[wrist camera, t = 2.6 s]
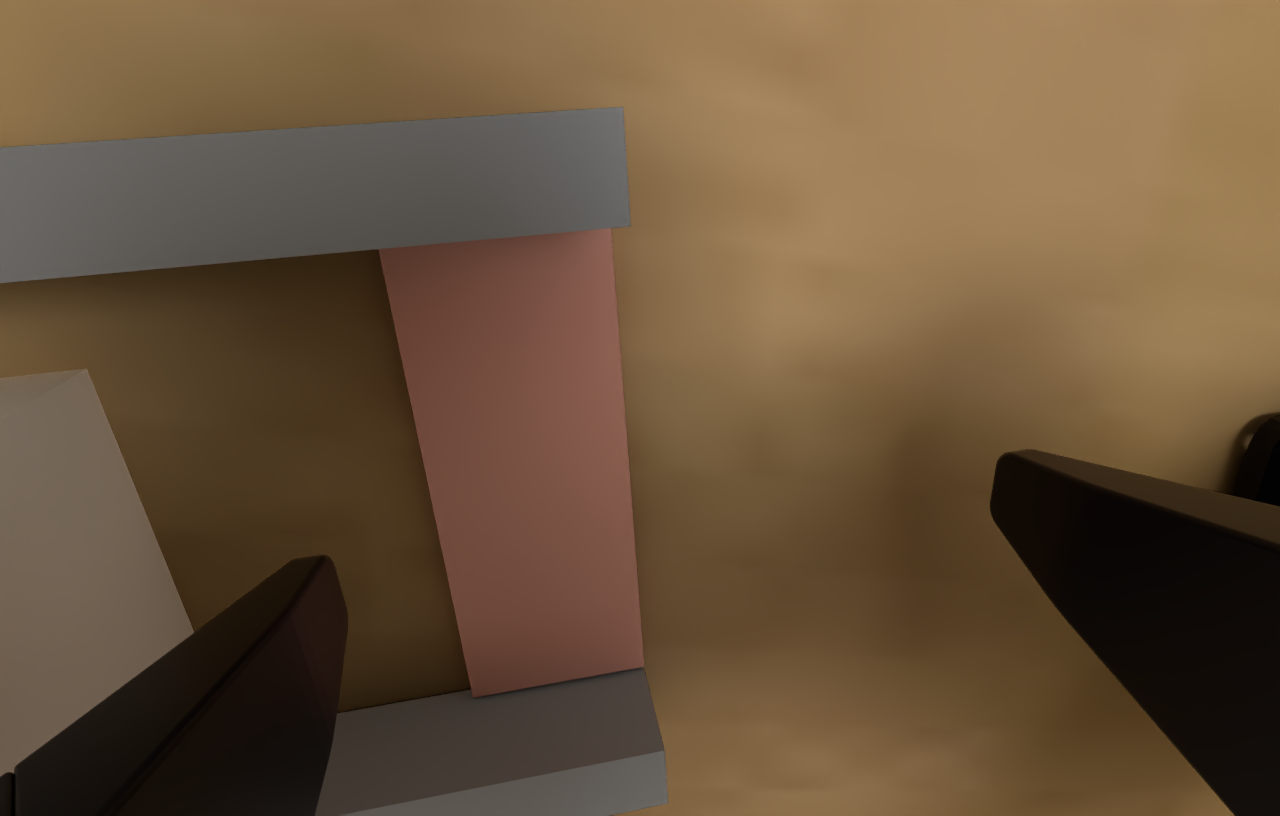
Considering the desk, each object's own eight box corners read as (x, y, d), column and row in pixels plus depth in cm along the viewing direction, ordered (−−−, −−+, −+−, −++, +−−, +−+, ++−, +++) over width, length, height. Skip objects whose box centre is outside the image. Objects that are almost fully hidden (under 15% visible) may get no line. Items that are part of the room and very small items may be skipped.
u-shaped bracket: (598, 109, 9) (623, 107, 7) (645, 708, 13) (668, 802, 11) (-781, 200, 7) (-1241, 228, 5) (-209, 869, 11) (-349, 1017, 9)
